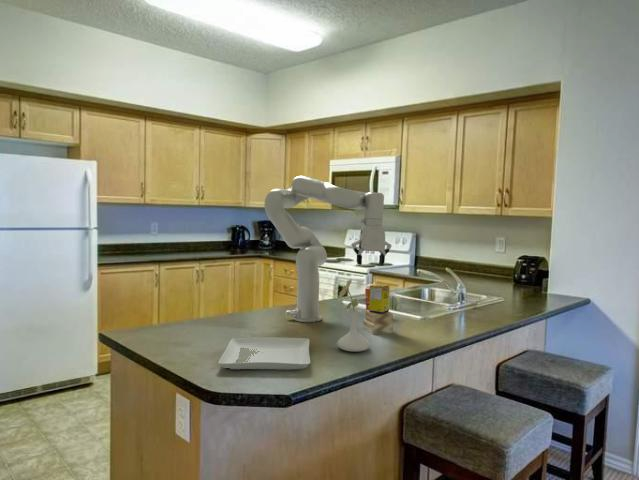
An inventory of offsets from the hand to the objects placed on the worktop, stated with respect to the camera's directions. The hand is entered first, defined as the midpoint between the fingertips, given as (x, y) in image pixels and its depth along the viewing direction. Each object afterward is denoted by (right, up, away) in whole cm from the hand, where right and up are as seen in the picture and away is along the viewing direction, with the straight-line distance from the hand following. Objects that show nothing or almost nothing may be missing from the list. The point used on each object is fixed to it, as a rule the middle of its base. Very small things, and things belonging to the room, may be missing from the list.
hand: (370, 264), depth 194 cm
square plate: (-38, -29, -42) cm, 63 cm away
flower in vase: (-10, -28, -31) cm, 43 cm away
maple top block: (+3, -23, -4) cm, 23 cm away
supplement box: (+3, -19, -4) cm, 20 cm away
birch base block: (+3, -27, -4) cm, 27 cm away
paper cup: (+3, -25, +22) cm, 33 cm away
